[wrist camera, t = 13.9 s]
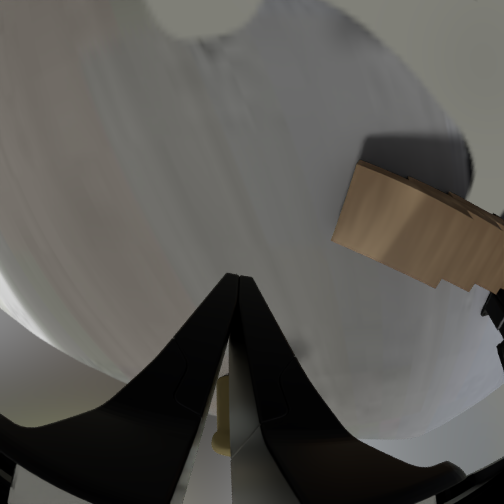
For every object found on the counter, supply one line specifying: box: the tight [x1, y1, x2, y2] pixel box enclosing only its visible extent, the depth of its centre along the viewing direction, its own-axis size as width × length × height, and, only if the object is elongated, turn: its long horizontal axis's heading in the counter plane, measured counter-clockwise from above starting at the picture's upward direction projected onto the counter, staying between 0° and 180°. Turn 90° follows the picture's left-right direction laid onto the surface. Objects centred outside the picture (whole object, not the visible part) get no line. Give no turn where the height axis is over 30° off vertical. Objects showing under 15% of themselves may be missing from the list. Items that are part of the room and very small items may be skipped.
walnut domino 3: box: [448, 192, 504, 294], centre depth 18 cm, size 2×6×9 cm
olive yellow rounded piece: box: [212, 375, 231, 456], centre depth 31 cm, size 6×6×11 cm
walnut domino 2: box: [407, 176, 503, 292], centre depth 18 cm, size 2×6×9 cm
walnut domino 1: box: [331, 160, 473, 288], centre depth 17 cm, size 2×6×9 cm
